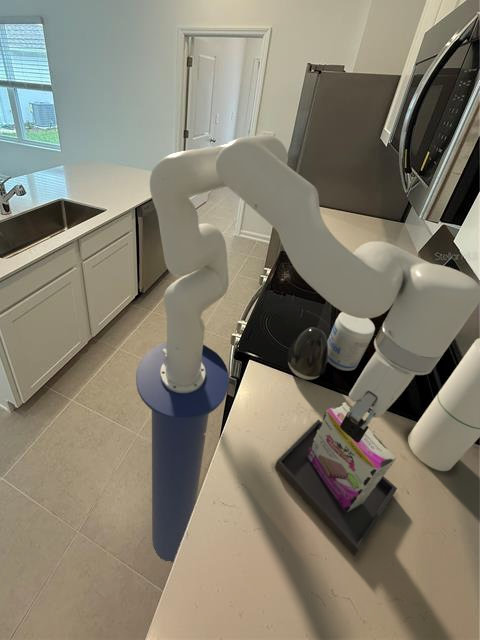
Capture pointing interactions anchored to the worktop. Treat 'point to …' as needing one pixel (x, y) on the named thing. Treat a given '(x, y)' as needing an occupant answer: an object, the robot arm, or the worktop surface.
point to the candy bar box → (347, 460)
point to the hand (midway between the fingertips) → (363, 417)
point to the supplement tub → (349, 341)
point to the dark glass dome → (309, 354)
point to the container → (451, 417)
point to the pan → (318, 496)
